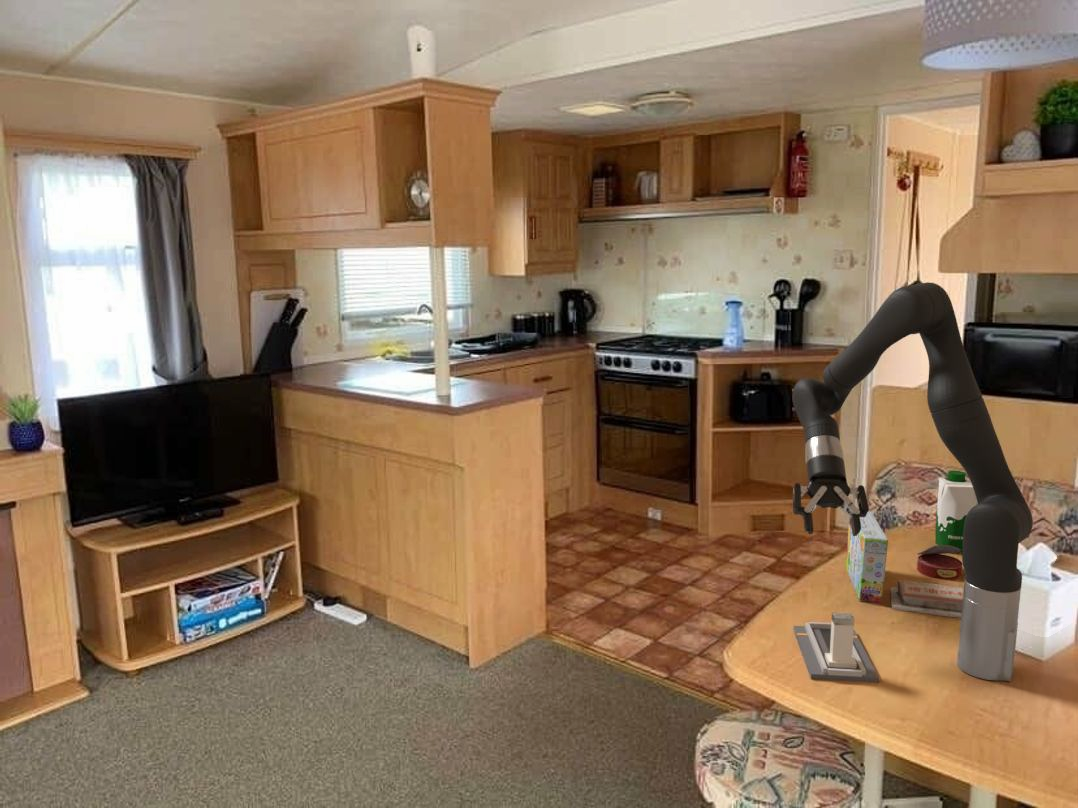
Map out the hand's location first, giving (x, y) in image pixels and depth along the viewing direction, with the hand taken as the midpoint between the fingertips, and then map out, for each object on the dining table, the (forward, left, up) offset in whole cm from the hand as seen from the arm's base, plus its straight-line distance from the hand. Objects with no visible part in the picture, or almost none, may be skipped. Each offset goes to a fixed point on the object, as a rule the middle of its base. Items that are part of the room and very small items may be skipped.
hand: (833, 533), depth 164 cm
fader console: (-2, +5, -23) cm, 24 cm away
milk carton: (-15, -70, -23) cm, 75 cm away
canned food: (-14, -51, -23) cm, 58 cm away
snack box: (0, -34, -23) cm, 41 cm away
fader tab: (-5, +10, -22) cm, 25 cm away
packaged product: (-16, -29, -24) cm, 41 cm away
